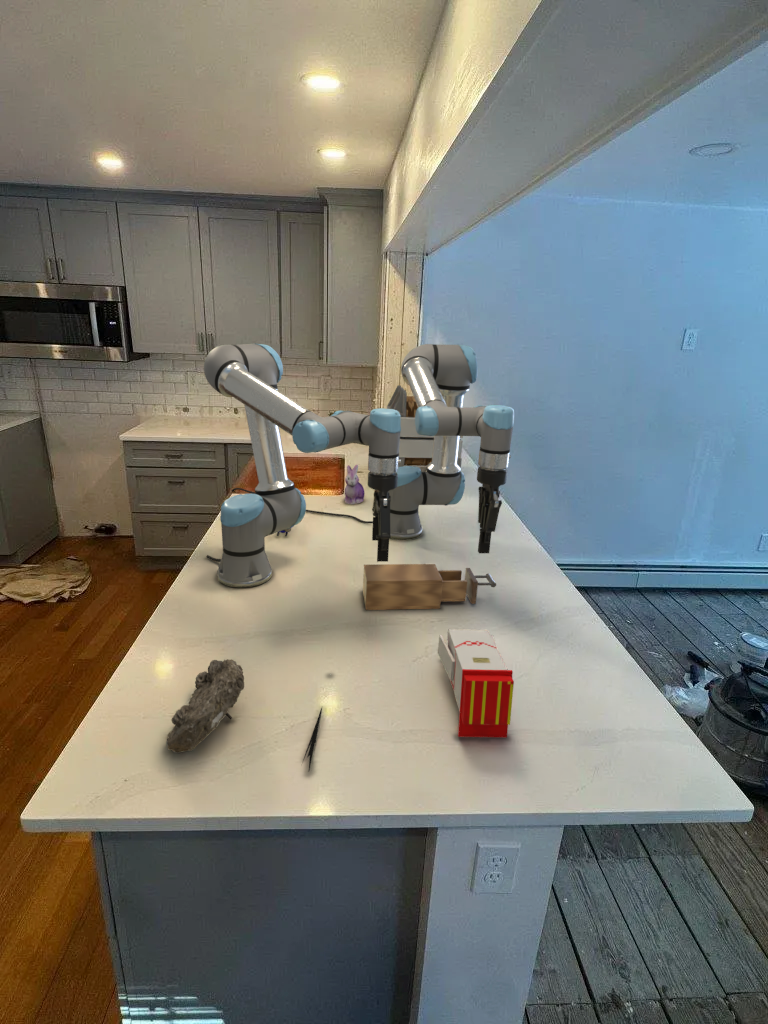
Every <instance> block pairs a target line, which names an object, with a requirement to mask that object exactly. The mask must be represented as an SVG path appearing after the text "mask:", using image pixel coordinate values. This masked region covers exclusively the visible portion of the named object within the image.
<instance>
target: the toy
mask: <svg viewBox="0 0 768 1024" xmlns="http://www.w3.org/2000/svg"><path fill="white" fill-rule="evenodd" d="M446 640H447V643H446V641H445V639H444V636H443V635H442V634H439V637H438V646H437V656H438V657H439V659H440V661H441V663H442V666H443V668H444V670H445V672H446V674H447V677H448V679H449V681H450V684H451V687H452V690H453V693H454V697H455V701H456V705H457V708H458V711H459V714H458V715H459V716H458V730H457V731H458V732H457V737H458V738H508V731H509V726H510V725H511V717H512V707H513V697H514V696H513V695H514V684H515V680H514V679H513V673H514V671H513V670H512V669H508V667H507V665H506V662H505V661H504V659H503V658H502V655H501V653H500V651H499V649H498V647H497V643H496V639H495V637H494V635H493V634H491V632H490V631H489V629H467V628H466V629H465V628H463V629H461V628H460V629H459V628H448V630H447V639H446Z"/></svg>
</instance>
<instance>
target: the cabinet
mask: <svg viewBox="0 0 768 1024" xmlns="http://www.w3.org/2000/svg"><path fill="white" fill-rule="evenodd" d="M438 570H439V569H438V567H437V564H435V563H394V564H393V563H390V564H387V563H386V564H385V563H384V564H383V563H382V564H381V563H380V564H363V574H362V575H363V578H362V595H363V602H364V608H365V611H380V610H381V611H382V610H383V611H385V610H389V611H391V610H439V609H441V603H442V602H441V593H442V581H443V580H442V578H441V576H440V574H439V571H438Z"/></svg>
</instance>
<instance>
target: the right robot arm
mask: <svg viewBox="0 0 768 1024" xmlns="http://www.w3.org/2000/svg"><path fill="white" fill-rule="evenodd" d="M478 367H479V365H478V359H477V354H476V352H475V350H474V349H473V347H471V346H469V345H463V344H438V343H437V344H436V343H435V344H434V343H433V344H432V343H425V344H424V343H423V344H419V345H418V346H415V347H414V348H412V349H411V350H410V351H409V352H407V353H406V355H405V356H404V358H403V360H402V361H401V367H400V373H401V377H402V379H403V381H404V382H405V384H406V385H408V386H409V389H410V391H411V394H412V396H414V399H415V401H416V404H417V406H418V409H417V410H416V414H415V427H416V432H417V433H418V434H419V435H428V436H434V443H433V454H432V462H431V463H429V464H428V465H427V466H426V471H422V469H421V467H420V466H407V465H404V466H402V467H398V471H397V472H396V473H397V474H398V485H397V488H396V489H394V490H390V491H388V493H389V496H391V502H390V535H391V538H390V539H389V540H395V541H410V540H415V539H418V538H420V537H421V536H422V535H423V525H422V524H421V518H420V515H419V507H420V506H449V505H451V506H453V505H457V504H459V502H460V501H462V499H463V496H464V493H465V489H466V483H465V482H466V477H465V474H464V472H462V467H461V468H460V467H459V466H458V465H457V457H458V448H459V438H460V436H463V437H480V442H479V443H480V444H479V452H478V460H477V464H478V467H477V473H476V481H477V482H478V483H479V484H482V485H481V486H478V514H477V515H478V516H477V517H478V518H477V523H478V524H479V537H478V546H477V553H478V554H490V549H491V542H492V541H491V540H492V533H495V532H496V527H497V524H498V519H499V513H500V509H501V507H502V504H503V501H502V500H501V499H500V494H501V492H500V487H501V486H503V485H505V484H506V483H507V480H508V479H507V478H508V469H507V468H508V467H509V463H510V462H509V461H510V459H511V458H512V455H511V454H510V452H511V446H512V445H511V444H512V438H513V432H514V431H513V430H514V426H515V410H514V408H513V407H511V406H508V405H501V404H488V405H482V404H479V405H478V404H477V405H475V406H471V407H469V406H464V399H465V394H466V393H468V391H470V388H471V384H475V383H476V382H477V378H478V373H479V371H478V370H479V368H478ZM460 439H461V438H460ZM238 490H239V491H243V492H245V493H247V494H248V493H249V494H250V493H251V494H255V491H251V490H247V489H246V488H241V487H235V488H233V489H231V492H234V491H238ZM305 513H312V514H318V515H319V514H320V515H328V516H334V517H335V516H336V517H346V518H351V519H354V520H356V521H358V522H360V523H363V524H373V520H371V521H368V520H367V521H366V520H362V519H360V518H358V517H356V516H354V515H349V514H344V513H334V512H333V513H332V512H324V511H318V510H311V509H306V512H305Z"/></svg>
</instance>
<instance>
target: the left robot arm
mask: <svg viewBox="0 0 768 1024" xmlns="http://www.w3.org/2000/svg"><path fill="white" fill-rule="evenodd" d="M203 374H204V377H205V379H206V381H207V383H208V384H209V385H210V386H211V387H212V388H213V390H215V391H216V392H218V393H219V394H221V395H222V396H223V397H224V396H225V397H226V398H234V399H236V400H237V401H238V402H240V403H241V404H243V405H244V412H245V415H246V416H245V417H246V422H247V427H248V432H249V436H250V437H249V438H250V443H251V448H252V453H253V459H254V464H255V470H256V475H257V481H258V483H257V485H256V486H255V488H254V493H255V494H252V493H248V492H247V493H244V494H242V493H241V494H236V495H233V496H229V497H228V498H226V499H225V500H224V502H222V504H221V507H220V517H219V521H220V525H221V526H220V528H221V541H222V542H221V543H222V554H221V557H220V558H216V557H213V556H211V555H208V554H207V555H206V559H208V560H210V561H213V562H217V563H219V564H218V568H217V573H216V574H217V580H218V581H219V582H220V583H221V584H222V585H224V586H227V587H231V588H243V589H244V588H251V587H257V586H260V585H262V584H263V585H264V584H265V583H267V582H268V581H269V580H270V579H271V578H272V577H273V576H272V575H273V569H272V565H271V562H270V559H269V557H268V555H267V553H266V550H265V549H266V544H265V542H266V541H265V538H267V537H269V536H271V535H274V534H277V532H280V531H282V530H285V529H289V528H291V527H292V528H294V527H295V526H297V525H298V524H300V523H301V522H302V520H303V519H304V518H305V515H306V513H307V512H306V510H307V503H306V498H305V496H304V494H302V492H301V490H300V489H299V488H297V487H296V486H295V483H294V481H293V480H291V479H290V478H289V476H288V471H287V464H286V459H285V453H284V448H283V443H282V442H283V441H282V437H281V431H280V429H281V430H283V431H284V432H285V433H287V434H289V435H290V436H292V442H293V444H294V445H295V447H296V448H297V450H299V452H301V453H304V454H311V453H313V454H314V453H320V452H323V451H326V450H331V449H334V448H337V447H342V446H347V445H349V444H358V445H362V446H366V447H368V457H367V458H368V460H367V462H368V463H367V470H368V472H367V486H368V488H370V489H372V490H373V491H374V492H373V501H372V508H371V511H372V516H373V517H372V521H373V523H372V534H371V535H372V536H371V540H372V541H377V553H376V562H384V563H385V562H389V550H390V549H389V548H390V540H391V539H390V538H391V535H390V502H391V496H389V493H388V491H390V490H394V489H396V488H397V485H398V474H397V473H396V472H397V471H398V463H401V459H399V443H400V432H401V416H400V413H399V412H398V411H397V410H394V409H387V408H386V407H384V408H383V407H382V408H380V407H377V408H373V409H371V410H370V412H369V414H364V413H360V412H355V411H354V412H353V411H351V410H336V411H334V412H333V414H331V415H329V416H320V415H318V414H317V413H315V412H313V411H312V410H310V409H308V408H307V407H305V406H303V405H302V404H300V403H299V402H297V401H295V400H293V399H292V398H290V397H289V396H288V395H286V394H284V393H283V392H281V391H279V388H278V383H279V382H281V380H282V376H283V375H284V365H283V362H282V359H281V357H280V355H279V353H278V352H277V351H276V350H275V349H274V348H273V347H272V346H270V345H268V344H263V343H256V342H255V343H240V344H239V343H238V344H221V345H218V346H215V347H214V348H213V349H211V350H210V351H209V352H208V354H207V355H206V357H205V360H204V362H203ZM293 526H294V527H293ZM292 528H291V529H292ZM280 533H281V532H280Z"/></svg>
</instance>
